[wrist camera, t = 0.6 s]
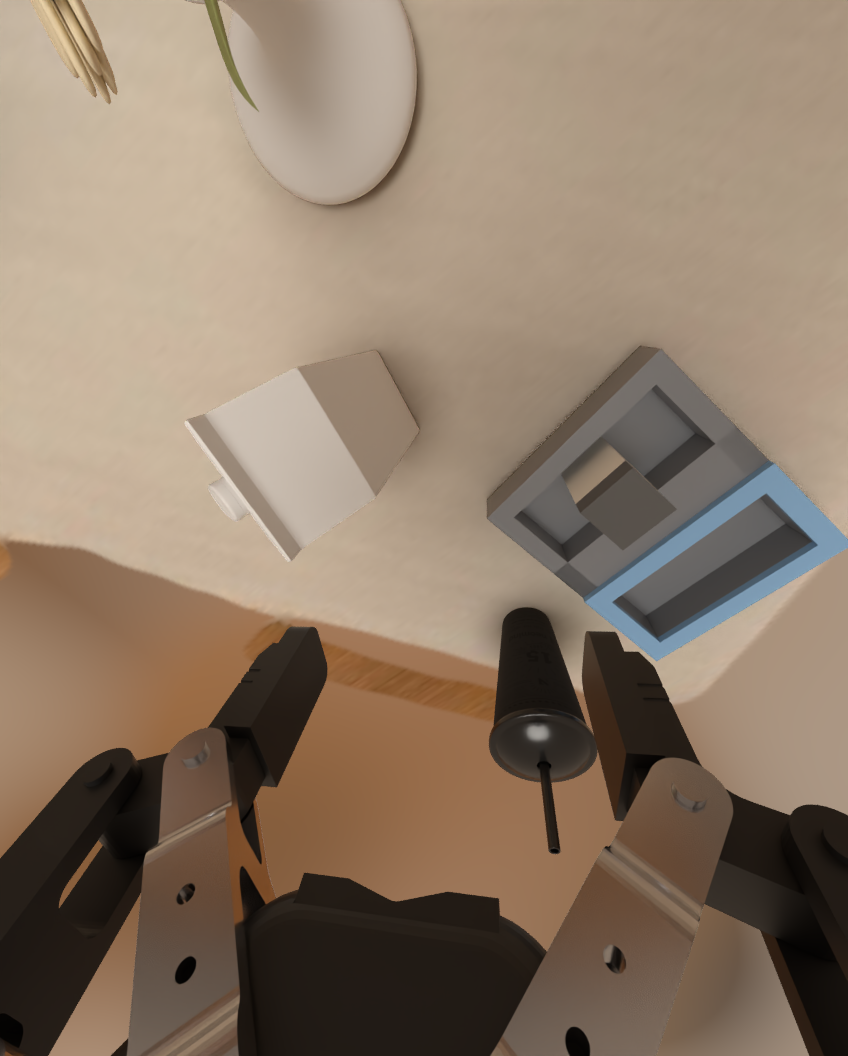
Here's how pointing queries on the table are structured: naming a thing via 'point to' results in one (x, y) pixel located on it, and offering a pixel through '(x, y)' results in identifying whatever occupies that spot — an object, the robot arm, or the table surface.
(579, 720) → the drinking cup
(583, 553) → the divided storage tray
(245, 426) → the milk carton
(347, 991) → the robot arm
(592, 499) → the gray rectangular block
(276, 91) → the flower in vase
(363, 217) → the table surface
